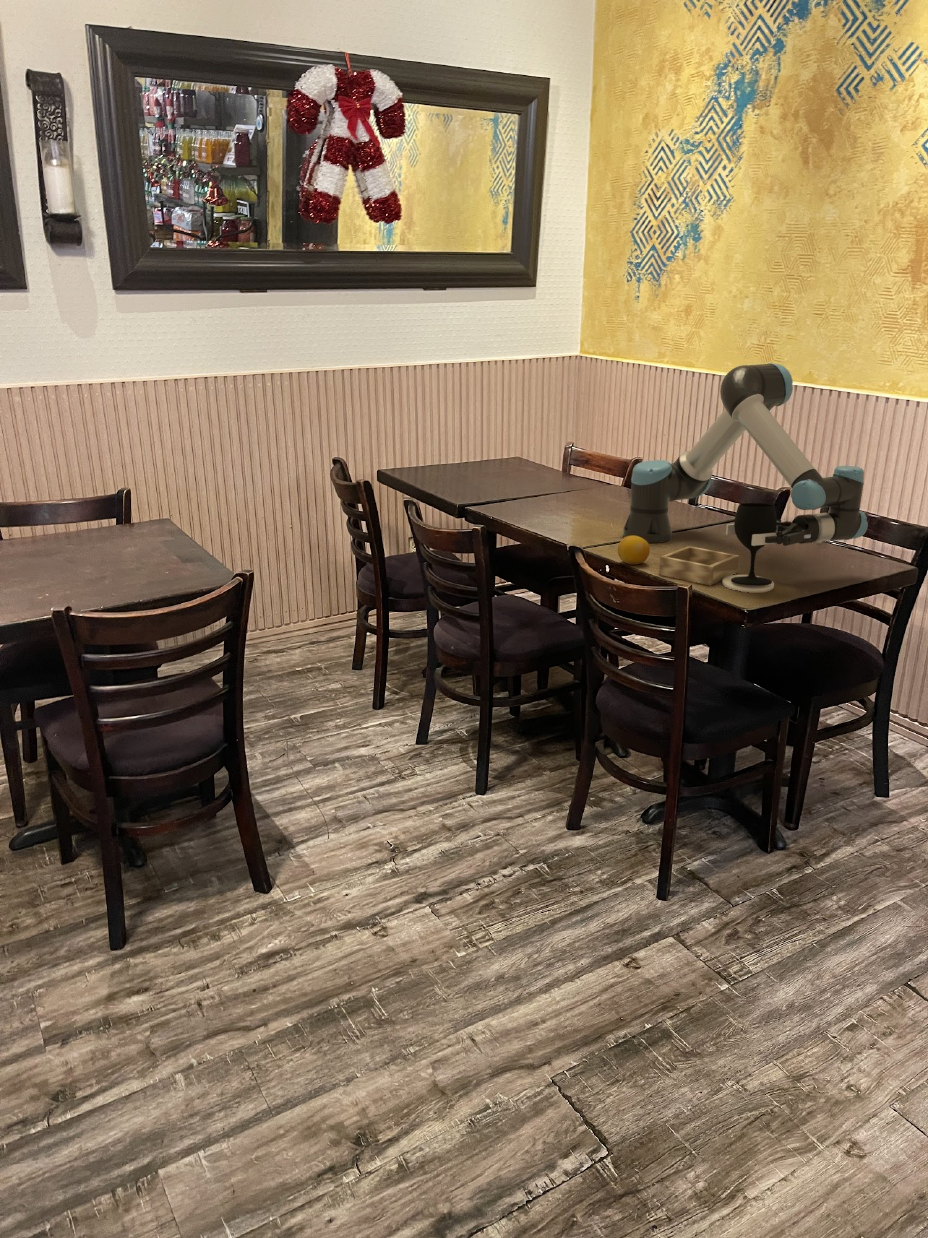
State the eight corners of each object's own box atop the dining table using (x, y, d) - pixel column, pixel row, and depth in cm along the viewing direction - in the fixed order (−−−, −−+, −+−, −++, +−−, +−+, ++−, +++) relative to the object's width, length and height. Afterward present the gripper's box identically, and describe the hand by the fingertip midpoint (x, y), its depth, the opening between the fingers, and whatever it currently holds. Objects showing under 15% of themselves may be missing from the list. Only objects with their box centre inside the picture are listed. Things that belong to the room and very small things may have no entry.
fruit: (632, 558, 275) (634, 531, 272) (654, 564, 269) (655, 536, 266) (611, 563, 270) (612, 535, 267) (632, 569, 264) (634, 541, 261)
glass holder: (658, 574, 259) (660, 556, 257) (687, 563, 270) (688, 545, 268) (710, 585, 249) (711, 567, 248) (737, 573, 260) (739, 555, 258)
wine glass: (771, 586, 241) (777, 507, 236) (729, 584, 244) (734, 506, 240) (772, 579, 250) (778, 503, 246) (731, 576, 254) (736, 502, 249)
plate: (713, 585, 249) (713, 582, 249) (736, 575, 258) (736, 571, 258) (759, 596, 241) (760, 592, 240) (782, 584, 250) (782, 581, 250)
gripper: (839, 553, 241) (765, 560, 234) (782, 532, 262) (713, 538, 255) (843, 524, 238) (768, 530, 232) (785, 505, 259) (715, 510, 253)
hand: (739, 534), depth 244 cm, fingers open, 11 cm apart
